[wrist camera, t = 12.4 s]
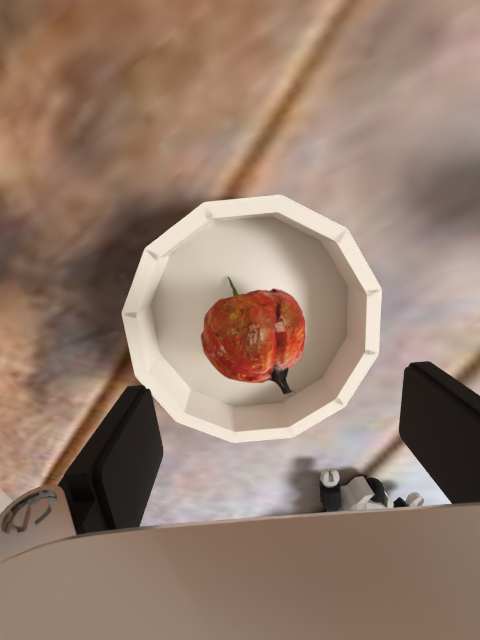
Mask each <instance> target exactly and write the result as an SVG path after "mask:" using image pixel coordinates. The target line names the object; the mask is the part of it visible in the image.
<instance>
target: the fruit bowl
mask: <svg viewBox="0 0 480 640" xmlns="http://www.w3.org/2000/svg"><path fill="white" fill-rule="evenodd" d="M228 276H229V278H230V279H231V281H232V283H233V285H234V287H235V289H236V291H237V293H238V295H241V294H247V293H248V292H251V291H256V290H268V291H270V290H272V289H278V290H282V291H284V292H286V293H288V294H290V295H291V296H293V297H294V299H295V300H296V301H297V302H298V304H299V306H300V308H301V310H302V313H303V317H304V319H305V334H306V338H305V344H304V349H303V352H302V355H301V358H300V360H299V361H298V362H297V363H296V364H294V365H293V366H291V367H290V368H289V371H288V374H287V377H286V381H287V384H288V386H289V388H290V390H292V391H294V392H296V393H292V394H288V395H284V394H283V393H282V391H281V389H280V387H279V386H278V385H277V384H276V383H275V382H273V381H270V380H269V381H266V382H264V383H247V382H241V381H237V380H232V379H228V378H227V377H225V376H223V375H222V374H221V373H220V372H218V371H217V370H216V369H215V367H214V366H213V365H212V364H211V363H210V361H209V360H208V358H207V357H206V355H205V354H204V351H203V346H202V343H201V342H202V341H201V334H202V332H203V330H204V317H205V314H206V313H207V312H208V311H209V310H210V308H211V307H212V306H213V305H214V304H215V303H216V302H217V301H218V300H220V299H222V298H224V299H226V298H229V297H233V289H232V288H231V286H230V282H229V279H228ZM381 296H382V289H381V287H380V285H379V283H378V282H377V280H376V278H375V276H374V274H373V273H372V271H371V269H370V267H369V266H368V264H367V262H366V260H365V259H364V257H363V255H362V253H361V252H360V250H359V248H358V246H357V245H356V243H355V241H354V239H353V238H352V236H351V234H350V232H349V231H348V229H347V228H345V227H343V226H341V225H339V224H337V223H335V222H333V221H331V220H330V219H328V218H326V217H324V216H322V215H320V214H318V213H316V212H314V211H312V210H310V209H308V208H306V207H304V206H302V205H300V204H298V203H296V202H294V201H292V200H290V199H289V198H287V197H285V196H283V195H272V196H262V197H251V198H241V199H231V200H221V201H210V202H203V203H202V204H201V205H200V206H198V207H197V208H196V209H194V210H193V211H192V212H191V213H189V214H188V215H187V216H185V217H184V218H183V219H182V220H180V221H179V222H178V223H176V224H175V225H174V226H173V227H171V228H170V229H169V230H167V231H166V232H165V233H164V234H162V235H161V236H160V237H158V238H157V239H156V240H155V241H153V242H152V243H151V244H149V245H148V246H147V247H146V248H145V249H144V252H143V255H142V257H141V260H140V263H139V266H138V269H137V271H136V274H135V277H134V280H133V283H132V285H131V288H130V291H129V294H128V296H127V299H126V302H125V305H124V308H123V310H122V318H123V323H124V328H125V332H126V337H127V342H128V346H129V351H130V355H131V360H132V365H133V369H134V374H135V377H136V378H137V379H138V380H139V381H140V382H141V383H142V385H144V386H145V387H146V389H150V390H151V394H152V396H153V397H154V398H155V399H156V400H157V401H158V402H159V403H160V404H161V406H162V407H163V408H164V409H165V410H166V411H167V412H168V413H169V414H170V415H171V417H172V418H173V419H174V420H175V421H176V422H178V423H181V424H184V425H186V426H189V427H192V428H194V429H197V430H200V431H202V432H205V433H208V434H210V435H213V436H216V437H218V438H221V439H224V440H226V441H229V442H232V443H237V442H248V441H260V440H271V439H282V438H292V437H294V436H296V435H298V434H300V433H301V432H303V431H305V430H306V429H308V428H310V427H311V426H313V425H315V424H317V423H318V422H320V421H322V420H323V419H325V418H327V417H328V416H330V415H332V414H334V413H335V412H337V411H339V410H340V409H342V408H344V407H345V406H346V405H347V403H348V401H349V400H350V398H351V397H352V395H353V394H354V392H355V390H356V389H357V387H358V386H359V384H360V383H361V381H362V379H363V378H364V376H365V375H366V373H367V372H368V370H369V368H370V367H371V365H372V364H373V362H374V361H375V359H376V358H377V356H378V354H379V337H380V316H381Z"/></svg>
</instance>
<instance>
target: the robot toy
mask: <svg viewBox="0 0 480 640" xmlns="http://www.w3.org/2000/svg"><path fill="white" fill-rule="evenodd" d="M330 470H331V474H330V475H329V472H328V470H327V469H326V470H323V471H322V472H321V477H320V497H321V502H322V504H323V505H324V507H325V508H326V510H327V512H338V511H353V510H367V509H382V508H397V507H413V506H426V501H425V500H424V499H423V498H422V497H421V496H420V495H419V494H418V493H415V492H414V493H412V494H410V495H408V497H407V499H406V502H405V501H404V500H403V499H402V498H400V497H399V498H398V499H397V500H395V501H394V502H392V501H391V499H390V498H389V496H388V495H387V493H386V492H385V490H384V487H383V485H382V483H381V482H380V481H379V480H378V479H376V478H371V477H370V478H367V479H366V480H365V478H364V477H363V476H361V477H355V478H354V479H353V480H352V481H351V482H350V483H349V484H347V485H345V486H341V487H340V484H339V483H338V481H339V474H338V472H337V471H336V470H335V469H330Z"/></svg>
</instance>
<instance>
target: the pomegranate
mask: <svg viewBox="0 0 480 640" xmlns="http://www.w3.org/2000/svg"><path fill="white" fill-rule="evenodd" d="M228 279H229V282H230V286H231V288H232V289H233V297H229V298H226V299H224V298H222V299H220V300H218V301H217V302H216V303H215V304H214V305H213V306H212V307H211V308H210V310H209V311H208V312H207V313H206V314H205V317H204V330H203V332H202V334H201V341H202V342H201V343H202V346H203V351H204V354H205V355H206V357H207V358H208V360H209V361H210V363H211V364H212V365H213V366H214V367H215V369H216V370H217V371H218V372H220V373H221V374H222V375H223V376H225V377H227V378H228V379H232V380H237V381H241V382H247V383H264V382H266V381H269V380H270V381H273V382H275V383H276V384H277V385H278V386H279V387H280V389H281V391H282V393H283V394H284V395H288V394H292V393H296V392H294V391H292V390H290V388H289V386H288V384H287V381H286V377H287V374H288V371H289V368H290V367H291V366H293V365H294V364H296V363H297V362H298V361H299V360H300V358H301V355H302V352H303V349H304V344H305V338H306V334H305V319H304V317H303V313H302V310H301V308H300V306H299V304H298V302H297V301H296V300H295V299H294V297H293V296H291V295H290V294H288V293H286V292H284V291H282V290H278V289H272V290H270V291H268V290H256V291H251V292H248V293H247V294H241V295H238V293H237V291H236V289H235V287H234V285H233V283H232V281H231V279H230V278H229V276H228Z"/></svg>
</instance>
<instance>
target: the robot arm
mask: <svg viewBox="0 0 480 640" xmlns="http://www.w3.org/2000/svg"><path fill="white" fill-rule="evenodd" d="M399 433H400V436H401V439H402V440H403V441H404V443H405V444H406V445H407V447H408V448H409V449H410V450H411V452H412V453H413V454H414V456H415V457H416V458H417V459H418V461H419V462H420V463H421V465H422V466H423V467H424V468H425V470H426V471H427V472H428V473H429V475H430V476H431V477H432V479H433V480H434V481H435V482H436V484H437V485H438V486H439V488H440V489H441V490H442V491H443V493H444V494H445V495H446V497H447V498H448V499H449V500H450V502H451V503H452V504H444V505H428V506H413V507H397V508H382V509H367V510H353V511H338V512H324V513H310V514H296V515H282V516H268V517H255V518H242V519H229V520H216V521H203V522H190V523H177V524H166V525H154V526H143V527H139V526H140V523H141V520H142V517H143V514H144V511H145V508H146V505H147V502H148V499H149V496H150V493H151V490H152V487H153V484H154V481H155V479H156V476H157V473H158V470H159V467H160V464H161V461H162V458H163V445H162V440H161V436H160V431H159V426H158V422H157V417H156V412H155V408H154V403H153V398H152V394H151V390H150V389H146V387H145V386H144V385H138V386H128V387H127V388H126V389H125V391H124V392H123V393H122V395H121V396H120V397H119V399H118V400H117V402H116V403H115V404H114V406H113V407H112V409H111V410H110V411H109V413H108V414H107V416H106V417H105V418H104V420H103V421H102V422H101V424H100V425H99V427H98V428H97V429H96V431H95V432H94V434H93V435H92V436H91V438H90V439H89V441H88V442H87V443H86V445H85V446H84V447H83V449H82V450H81V452H80V453H79V454H78V456H77V457H76V459H75V460H74V461H73V463H72V464H71V466H70V467H69V468H68V470H67V471H66V473H65V474H64V477H63V478H62V480H61V481H60V482H59V484H58V485H45V486H41V487H38V488H35V489H33V490H31V491H28V492H27V493H25V494H23V495H22V496H20V497H18V498H17V499H16V500H14V501H13V502H12V503H11V504H10V505H8V506H7V507H6V508H5V510H4V511H3V512H2V513H1V514H0V640H480V396H479V395H478V394H476V393H475V392H473V391H472V390H471V389H469V388H468V387H466V386H465V385H463V384H462V383H460V382H459V381H457V380H456V379H454V378H453V377H452V376H450V375H449V374H447V373H446V372H444V371H443V370H441V369H440V368H438V367H437V366H436V365H434V364H433V363H431V362H429V361H426V362H414V363H410V365H409V367H406V368H405V370H404V379H403V390H402V401H401V412H400V422H399Z"/></svg>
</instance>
